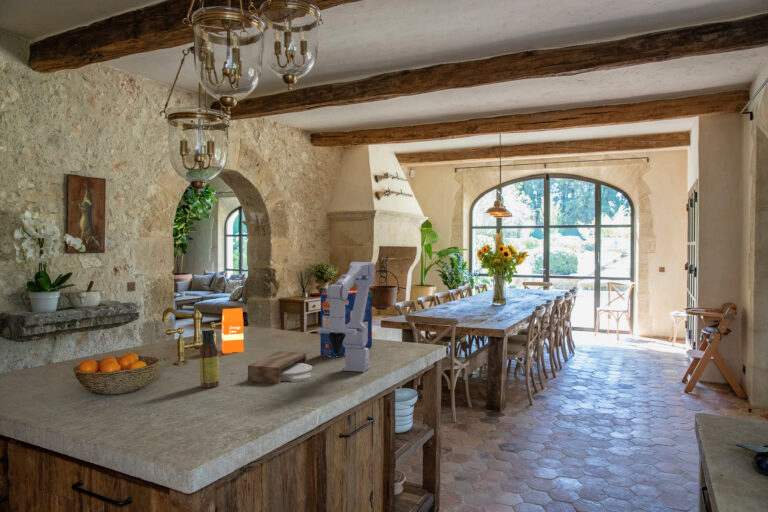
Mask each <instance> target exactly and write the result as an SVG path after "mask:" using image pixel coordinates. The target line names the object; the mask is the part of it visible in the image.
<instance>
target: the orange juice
mask: <svg viewBox="0 0 768 512" xmlns="http://www.w3.org/2000/svg"><path fill="white" fill-rule="evenodd" d="M243 313H244V312H243V308H242V307H240V308H222V316H221V318H222V319H221V351H222V353H223V354H224V353H225V354H233V353H232V352H238V353H244V317H243Z"/></svg>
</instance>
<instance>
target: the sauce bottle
mask: <svg viewBox="0 0 768 512" xmlns="http://www.w3.org/2000/svg"><path fill="white" fill-rule="evenodd" d="M201 335H202V344H201V346H200V348H199V378H200V381H199V382H200V387H202V388H205V389H206V388H207V389H210V388H216V387H217V386H219V385H220V367H219V366H220V364H219V351H218V348H217V345H216V342H215V336H214V335H215V329H214V328H205V329H202V330H201Z"/></svg>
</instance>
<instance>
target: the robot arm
mask: <svg viewBox="0 0 768 512" xmlns="http://www.w3.org/2000/svg"><path fill="white" fill-rule="evenodd" d="M375 278H376V265H375V263H374V261H351V262H350V263H349V267H348V271H347V273H346V274H342V275H341V276H340V277H339V279H338V280H337V281H336V282H335V283H334V284H330V285H329V286H327V289H326V293H327V298H328V304H329V305H330V328H321V327H318V328H317V333H318V334H321V333H328V334H330V335H329V339H330V341H331V343H332V345H333V349H334V354H339V353H340V349H341V345H344V347H345V355H344V367H343V368H342V369H341V371H345V372H347V371H348V372H361V373H363V372H366V371H367V370H369V369H370V348H369V349H368V348H364V347H365V345H366V344H367V341H368V330H367V328H366V327H365V326H364V325H363V319H364V313H365V308H366V303H367V298H368V292H369V291H370V286H371V285H372V284H373V285H374V281H375ZM354 284H355V285H357V289H356V290H357V292H356V297H355V302H354V307H353V312H352V317H351V322H349V323H348V324H346V325H345V300H346V299H347V297H348V293H349V291H351V289H352V288H353V286H354ZM340 332H342V333H340Z"/></svg>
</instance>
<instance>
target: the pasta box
mask: <svg viewBox="0 0 768 512" xmlns="http://www.w3.org/2000/svg"><path fill="white" fill-rule="evenodd" d="M356 292H357V289H355V290H349V293H348V297H347V299H346V300H345V325H346V324H348V323H349V322H351V317H352V312H353V307H354V302H355V297H356ZM363 325H364V326H365V327H366V328H367V330H368V341H367V344H366V345H365V347H364V348H369V349H371V348H370V347H372V346H373V344H372V343H373V335H372V333H373V290H369V292H368V298H367V303H366V308H365V313H364V319H363ZM320 328H330V305H329V304H328V298H327V292H326V293H325V292H324V293H321V294H320ZM340 333H342V332H340ZM329 335H330V334H328V333H320V356H321V355H325V356H331V357H336V356H340V355H343V356H345V355H344V354H345V347H344V345H341V349H340V353H339V354H334V349H333V345H332V343H331V341H330V339H329ZM372 348H373V347H372ZM325 356H324V357H325ZM331 357H330V358H331ZM340 357H341V356H340ZM336 358H337V357H336Z"/></svg>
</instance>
